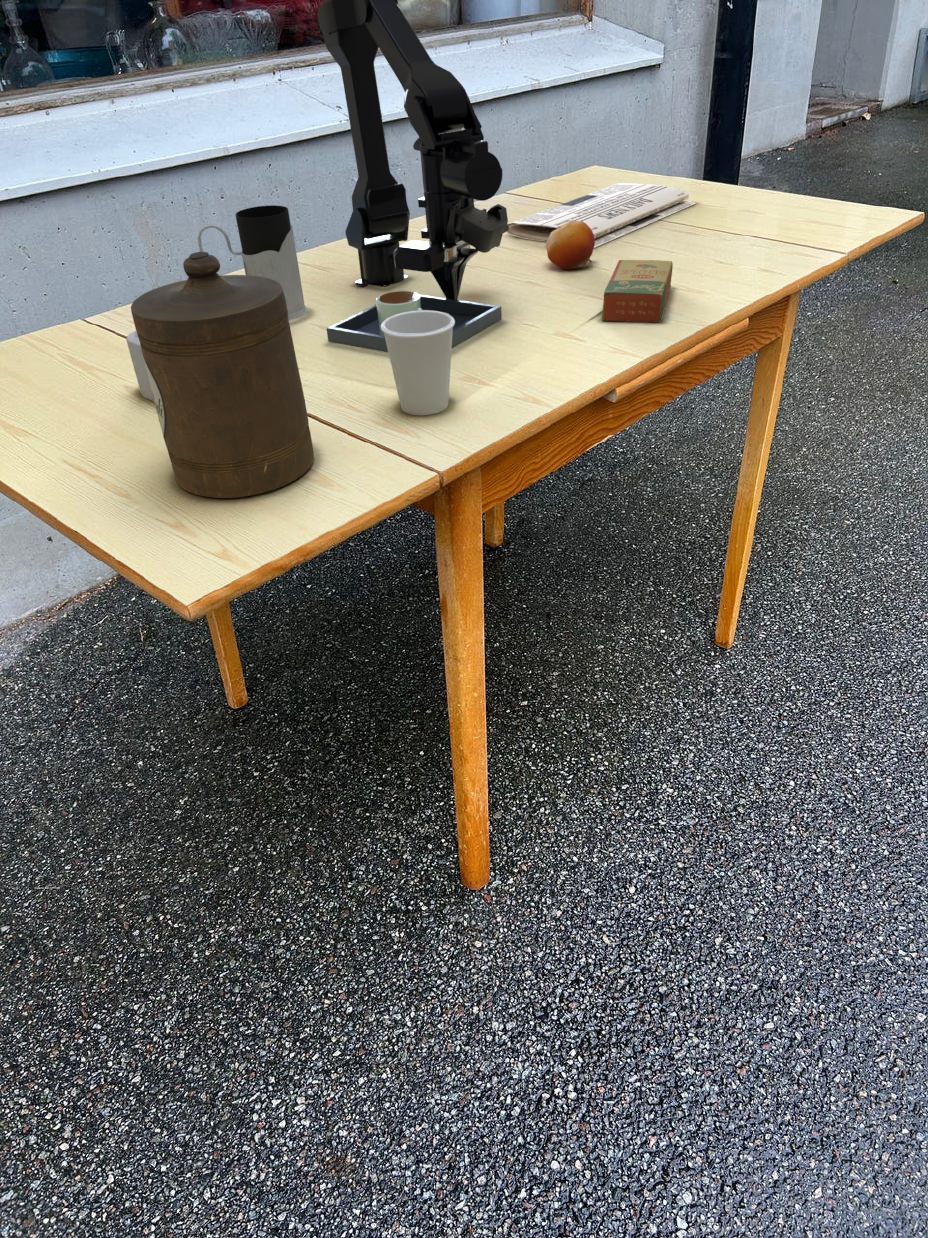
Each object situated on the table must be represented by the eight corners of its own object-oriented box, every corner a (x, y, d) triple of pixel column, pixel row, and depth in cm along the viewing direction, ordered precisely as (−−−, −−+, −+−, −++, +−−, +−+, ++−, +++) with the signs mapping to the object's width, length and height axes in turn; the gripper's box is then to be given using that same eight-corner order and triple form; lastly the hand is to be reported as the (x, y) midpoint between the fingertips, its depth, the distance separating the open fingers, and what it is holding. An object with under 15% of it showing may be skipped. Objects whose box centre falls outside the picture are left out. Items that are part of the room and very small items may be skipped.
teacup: (371, 340, 128) (366, 300, 125) (397, 327, 132) (393, 288, 129) (411, 347, 125) (408, 306, 121) (437, 334, 129) (434, 293, 125)
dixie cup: (404, 425, 106) (395, 339, 100) (380, 400, 112) (370, 318, 106) (471, 410, 108) (466, 325, 102) (443, 386, 115) (437, 305, 109)
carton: (671, 288, 141) (674, 259, 138) (661, 323, 129) (663, 292, 126) (616, 286, 143) (618, 257, 140) (601, 321, 131) (602, 290, 128)
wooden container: (218, 432, 107) (171, 232, 94) (335, 441, 103) (304, 234, 90) (147, 493, 96) (84, 275, 83) (277, 506, 92) (231, 279, 79)
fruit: (603, 263, 149) (578, 218, 146) (561, 288, 152) (536, 245, 149) (607, 249, 155) (583, 205, 152) (567, 274, 159) (542, 232, 156)
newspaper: (612, 194, 194) (612, 180, 193) (696, 203, 184) (697, 188, 182) (505, 235, 172) (504, 219, 170) (593, 248, 162) (593, 231, 160)
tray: (328, 344, 129) (326, 327, 128) (403, 307, 141) (401, 291, 140) (432, 364, 121) (430, 346, 120) (502, 322, 133) (501, 305, 131)
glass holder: (307, 323, 137) (289, 215, 129) (211, 331, 137) (187, 224, 128) (310, 305, 144) (294, 202, 136) (219, 312, 144) (197, 209, 135)
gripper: (455, 209, 117) (464, 331, 126) (529, 176, 129) (532, 290, 139) (385, 203, 122) (398, 320, 132) (462, 172, 134) (469, 281, 144)
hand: (452, 302), depth 136 cm, fingers closed
